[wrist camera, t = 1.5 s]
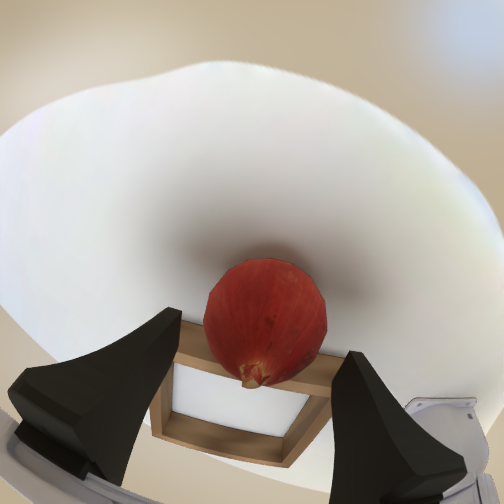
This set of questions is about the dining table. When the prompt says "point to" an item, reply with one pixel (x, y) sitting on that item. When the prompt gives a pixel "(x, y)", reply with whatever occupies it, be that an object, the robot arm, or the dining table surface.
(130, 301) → the dining table surface
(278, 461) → the box
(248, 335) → the onion
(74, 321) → the dining table surface
